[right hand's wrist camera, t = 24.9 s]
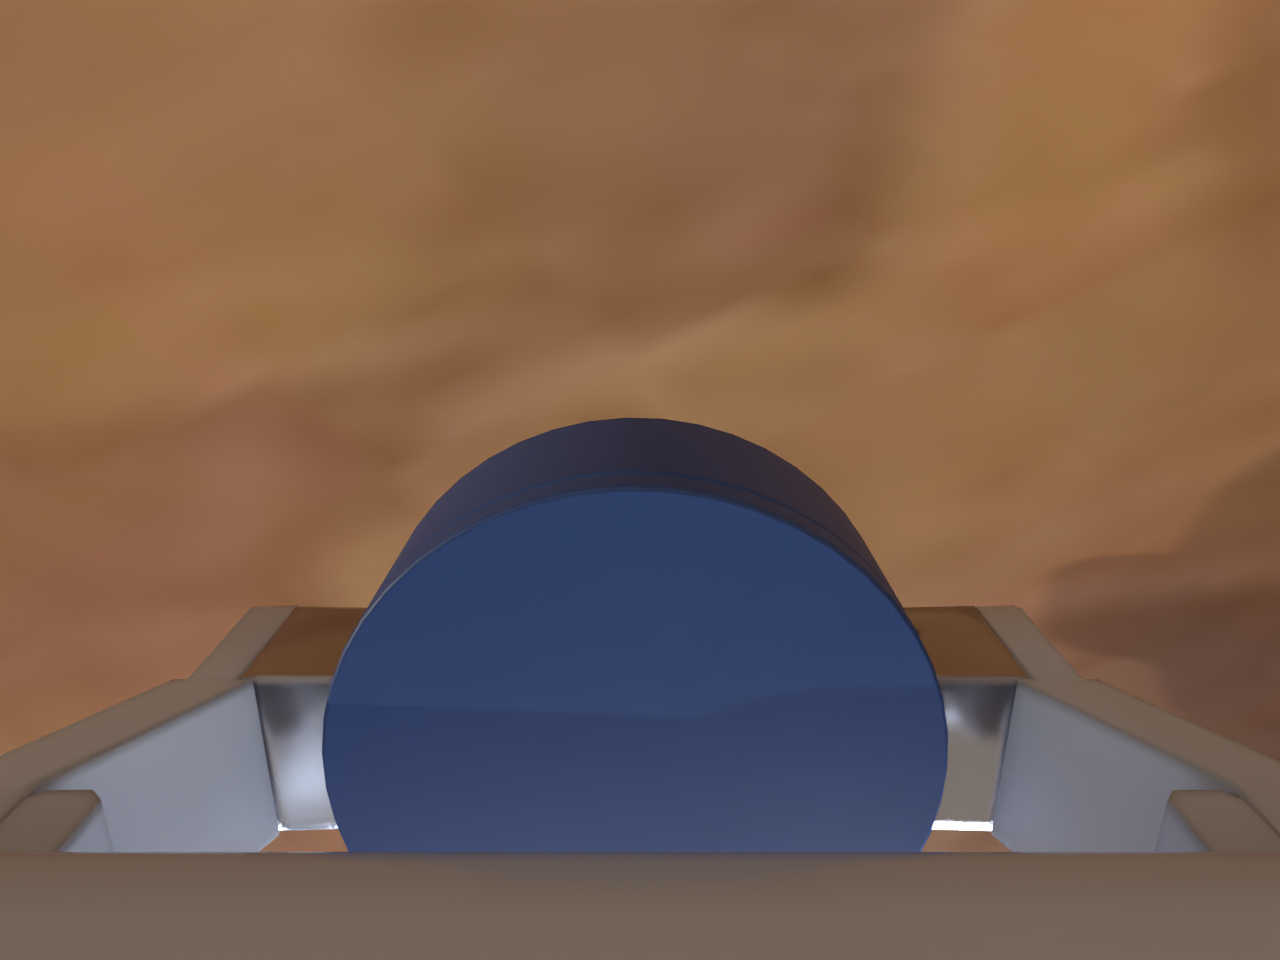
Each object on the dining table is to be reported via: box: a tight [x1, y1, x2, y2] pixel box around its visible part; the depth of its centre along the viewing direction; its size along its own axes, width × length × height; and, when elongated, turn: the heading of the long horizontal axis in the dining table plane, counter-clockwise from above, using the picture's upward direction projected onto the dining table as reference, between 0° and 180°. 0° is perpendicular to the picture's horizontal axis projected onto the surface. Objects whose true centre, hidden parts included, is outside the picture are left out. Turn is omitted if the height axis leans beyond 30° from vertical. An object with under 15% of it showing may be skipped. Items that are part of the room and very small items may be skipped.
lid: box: [322, 418, 948, 852], centre depth 9 cm, size 6×6×2 cm
